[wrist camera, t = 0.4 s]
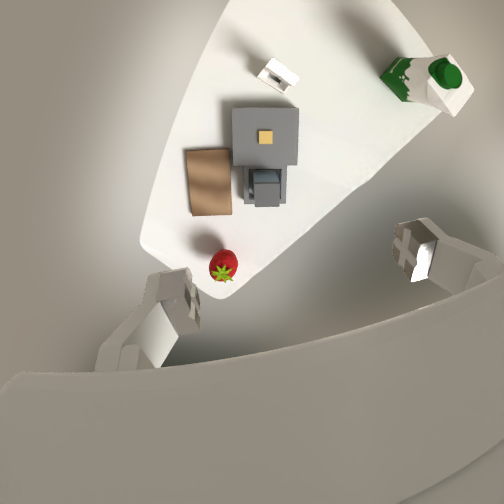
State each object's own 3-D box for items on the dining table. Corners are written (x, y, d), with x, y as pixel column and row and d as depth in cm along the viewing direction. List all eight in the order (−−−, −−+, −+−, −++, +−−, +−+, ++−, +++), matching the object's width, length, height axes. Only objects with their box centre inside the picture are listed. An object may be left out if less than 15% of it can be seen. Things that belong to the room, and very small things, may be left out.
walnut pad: (186, 150, 53) (185, 151, 52) (229, 148, 53) (229, 149, 52) (193, 214, 60) (192, 216, 60) (232, 212, 61) (232, 214, 60)
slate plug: (253, 170, 56) (254, 184, 49) (275, 170, 56) (280, 183, 49) (253, 191, 58) (255, 206, 51) (275, 190, 58) (279, 206, 51)
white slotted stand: (247, 49, 40) (272, 57, 35) (285, 75, 47) (311, 88, 42) (236, 64, 42) (259, 75, 37) (274, 89, 49) (299, 103, 44)
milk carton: (396, 51, 41) (457, 48, 24) (424, 82, 44) (486, 92, 27) (373, 77, 45) (430, 81, 28) (402, 108, 48) (462, 126, 31)
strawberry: (243, 245, 65) (243, 271, 57) (229, 268, 69) (227, 297, 60) (219, 234, 63) (216, 260, 55) (206, 259, 67) (201, 287, 59)
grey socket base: (232, 107, 48) (231, 108, 45) (296, 107, 49) (299, 109, 46) (235, 200, 59) (234, 207, 56) (292, 199, 59) (295, 206, 56)
